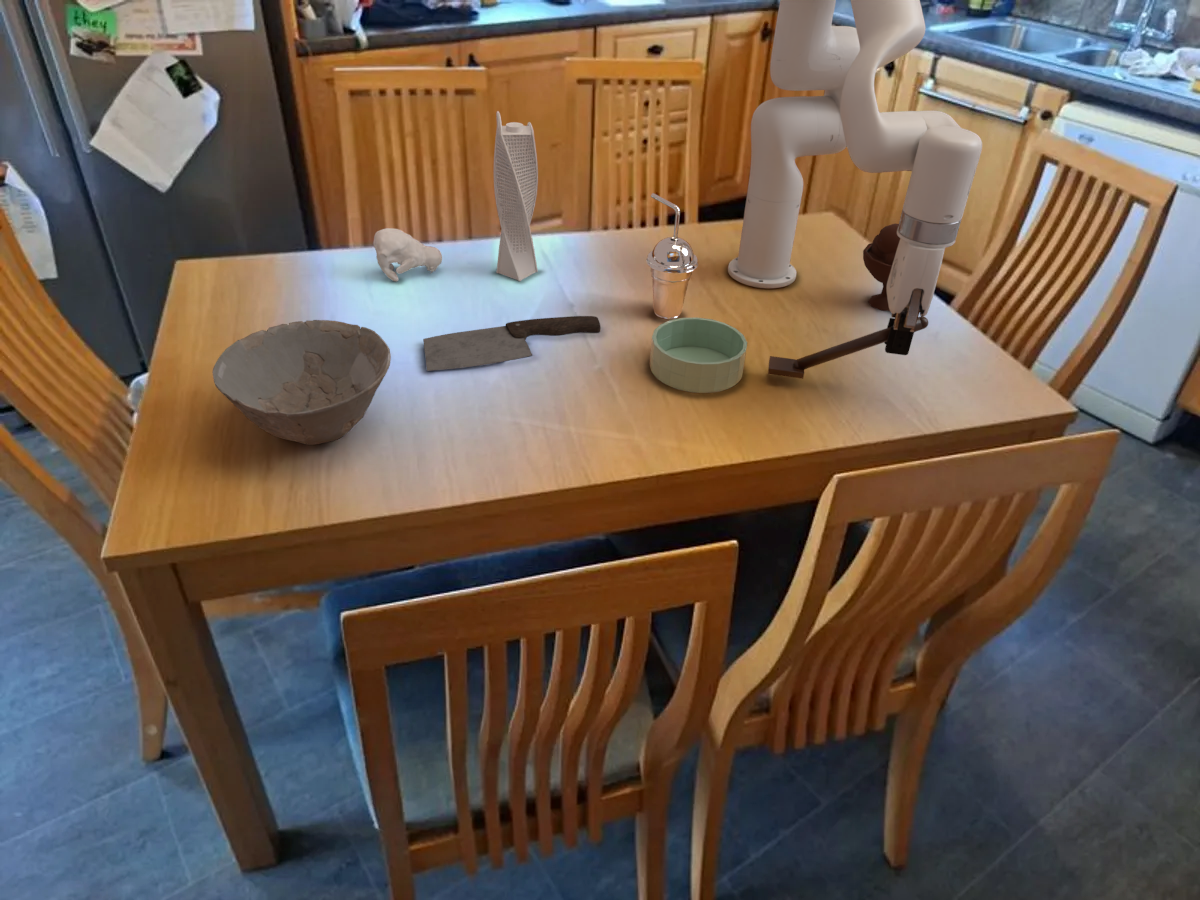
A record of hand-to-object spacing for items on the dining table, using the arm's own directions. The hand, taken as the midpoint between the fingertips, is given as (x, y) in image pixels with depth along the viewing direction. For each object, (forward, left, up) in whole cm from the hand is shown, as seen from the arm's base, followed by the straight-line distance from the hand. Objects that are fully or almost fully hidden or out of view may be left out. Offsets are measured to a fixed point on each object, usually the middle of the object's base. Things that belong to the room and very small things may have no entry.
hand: (895, 348), depth 128 cm
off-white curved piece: (-20, -82, -9) cm, 85 cm away
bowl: (0, -28, -8) cm, 29 cm away
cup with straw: (-17, -35, -9) cm, 40 cm away
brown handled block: (0, -7, -6) cm, 9 cm away
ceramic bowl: (+28, -77, -9) cm, 82 cm away
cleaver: (0, -57, -9) cm, 58 cm away
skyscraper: (-26, -64, -9) cm, 70 cm away
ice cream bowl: (-32, +2, -9) cm, 33 cm away
